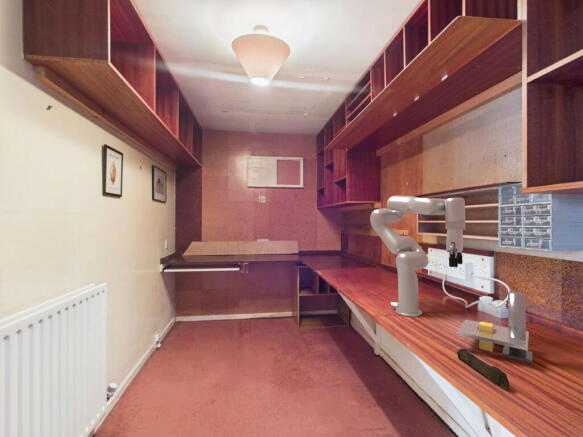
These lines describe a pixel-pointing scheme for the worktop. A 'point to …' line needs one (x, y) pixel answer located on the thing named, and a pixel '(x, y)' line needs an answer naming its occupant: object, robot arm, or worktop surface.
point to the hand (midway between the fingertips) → (455, 265)
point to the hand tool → (485, 369)
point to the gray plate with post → (506, 330)
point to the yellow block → (487, 329)
